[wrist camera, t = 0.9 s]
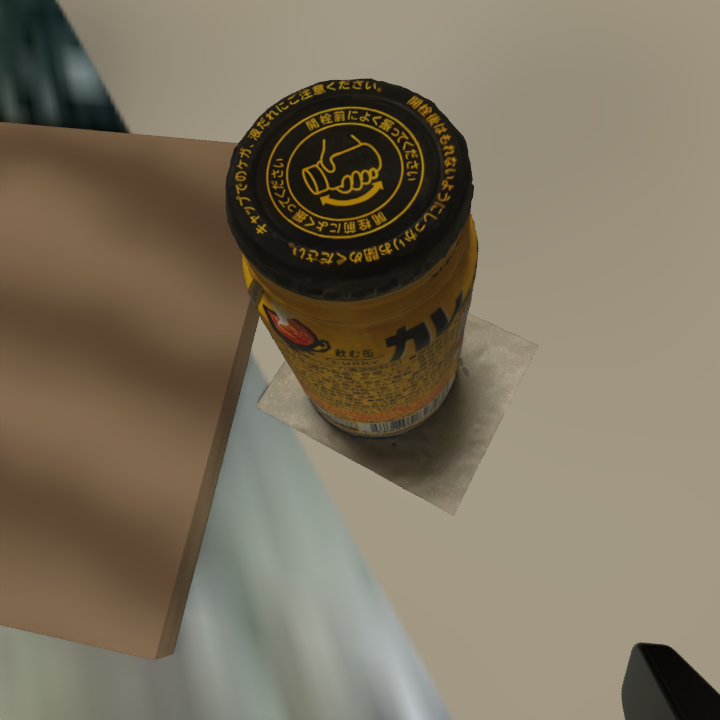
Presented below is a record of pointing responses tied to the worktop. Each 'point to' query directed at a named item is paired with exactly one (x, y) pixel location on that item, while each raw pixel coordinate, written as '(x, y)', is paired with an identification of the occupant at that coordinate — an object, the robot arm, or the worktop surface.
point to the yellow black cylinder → (372, 282)
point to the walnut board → (113, 377)
